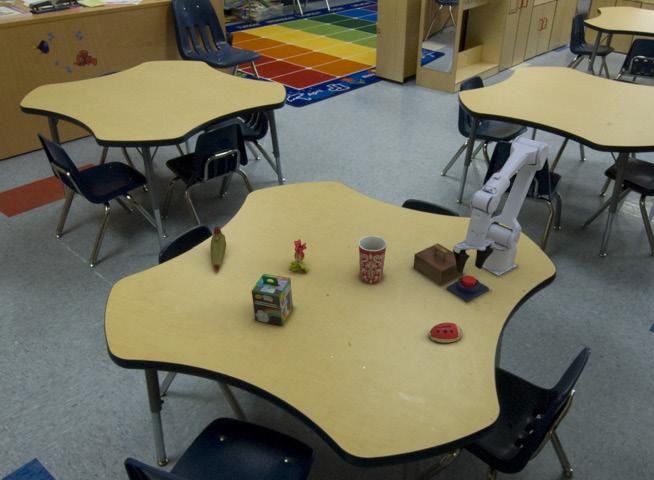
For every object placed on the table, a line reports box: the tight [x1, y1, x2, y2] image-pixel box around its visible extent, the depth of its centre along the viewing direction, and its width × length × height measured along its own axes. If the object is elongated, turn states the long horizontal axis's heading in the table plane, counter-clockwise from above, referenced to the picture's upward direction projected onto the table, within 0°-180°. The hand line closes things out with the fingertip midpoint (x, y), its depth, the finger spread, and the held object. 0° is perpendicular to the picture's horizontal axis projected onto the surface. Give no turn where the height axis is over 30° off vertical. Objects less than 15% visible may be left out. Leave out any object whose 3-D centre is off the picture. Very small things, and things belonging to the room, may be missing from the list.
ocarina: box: [209, 226, 227, 272], centre depth 201 cm, size 20×5×10 cm, turn 4°
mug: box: [357, 235, 388, 285], centre depth 190 cm, size 13×9×14 cm
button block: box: [446, 276, 490, 303], centre depth 184 cm, size 10×8×3 cm
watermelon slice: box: [428, 322, 463, 344], centre depth 166 cm, size 7×10×4 cm
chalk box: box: [251, 273, 294, 327], centre depth 173 cm, size 9×9×15 cm
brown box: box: [412, 255, 464, 286], centre depth 193 cm, size 10×12×5 cm
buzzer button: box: [462, 275, 477, 287], centre depth 183 cm, size 4×4×2 cm
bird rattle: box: [288, 238, 308, 273], centre depth 195 cm, size 6×11×9 cm
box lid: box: [414, 243, 456, 272], centre depth 191 cm, size 11×12×4 cm
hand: (468, 269), depth 181 cm, fingers open, 7 cm apart
